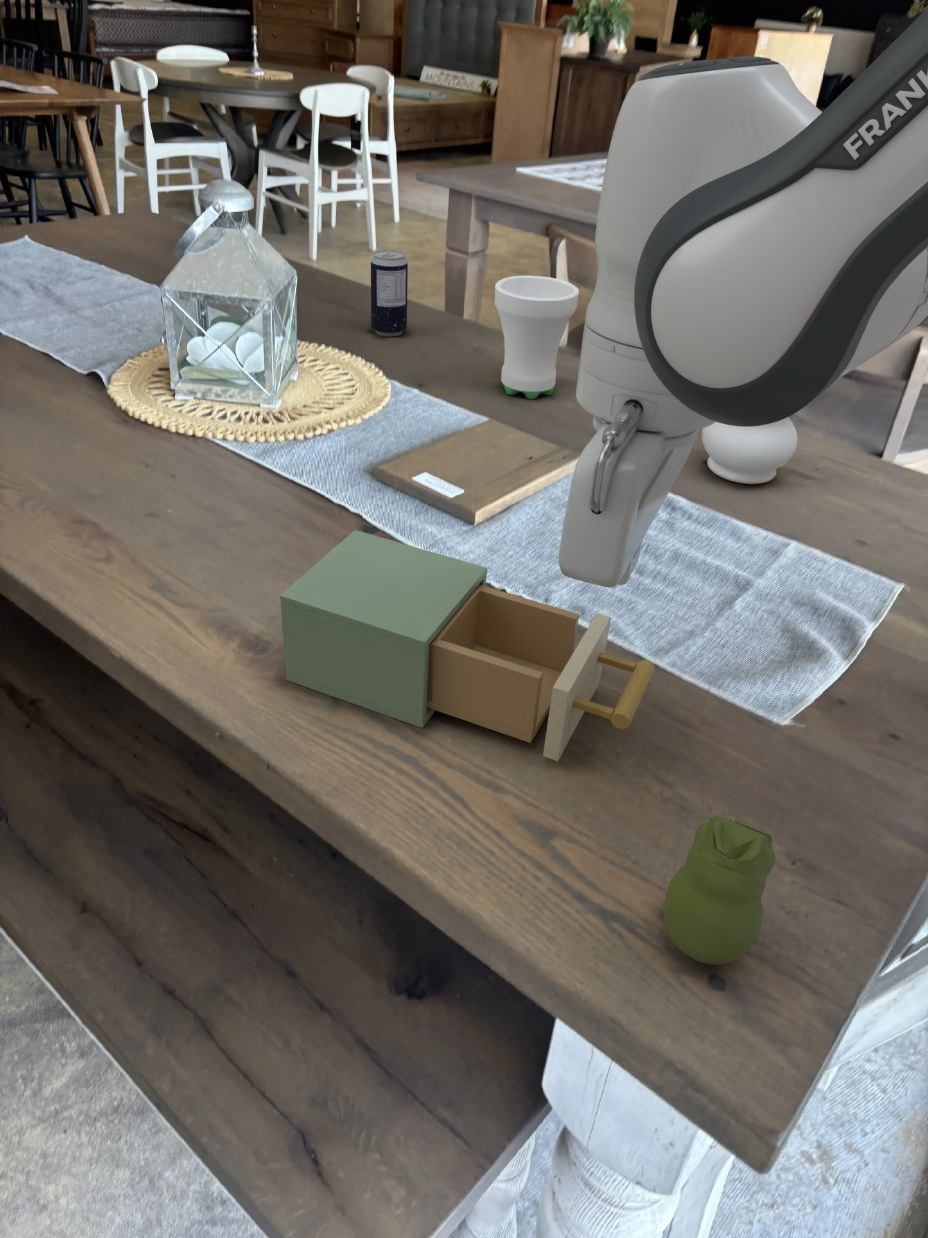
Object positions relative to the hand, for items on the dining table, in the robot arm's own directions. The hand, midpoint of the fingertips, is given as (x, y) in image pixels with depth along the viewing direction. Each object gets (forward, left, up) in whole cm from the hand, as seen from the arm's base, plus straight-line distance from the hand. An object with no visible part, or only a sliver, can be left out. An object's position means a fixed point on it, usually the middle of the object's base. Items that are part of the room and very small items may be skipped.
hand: (619, 573), depth 62 cm
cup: (+30, -64, -15) cm, 73 cm away
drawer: (+5, 0, -14) cm, 15 cm away
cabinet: (+18, 0, -15) cm, 23 cm away
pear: (-12, +15, -15) cm, 24 cm away
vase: (-2, -53, -15) cm, 56 cm away
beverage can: (+58, -75, -15) cm, 96 cm away
